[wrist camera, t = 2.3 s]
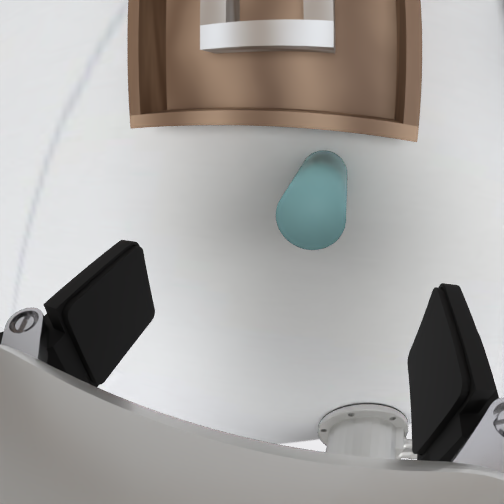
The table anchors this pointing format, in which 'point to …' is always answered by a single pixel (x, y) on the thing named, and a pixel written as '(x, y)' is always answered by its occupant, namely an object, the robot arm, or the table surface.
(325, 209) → the peg
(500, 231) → the table surface
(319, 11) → the box
